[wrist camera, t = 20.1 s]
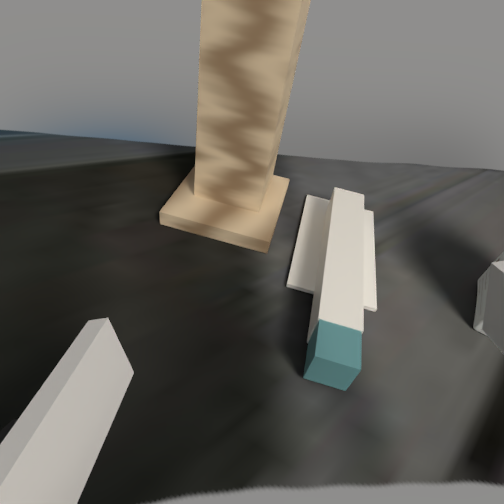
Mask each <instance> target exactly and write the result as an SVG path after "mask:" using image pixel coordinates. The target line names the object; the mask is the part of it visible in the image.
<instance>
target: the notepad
mask: <svg viewBox="0 0 504 504" xmlns="http://www.w3.org/2000/svg"><path fill="white" fill-rule="evenodd" d="M329 202H330V200H326V199H322V198H319V197H315V196H311V195H307V197H306V201H305V206H304V210H303V215H302V219H301V223H300V228H299V232H298V237H297V241H296V245H295V250H294V254H293V259H292V263H291V267H290V272H289V276H288V281H287V285H286V287H289V288H293V289H296V290H300V291H303V292H307V293H310V294H314V290H315V283H316V276H317V269H318V263H319V256H320V249H321V242H322V235H323V229H324V222H325V215H326V210H327V207H328V204H329ZM364 309H367V310H370V311H374V312H375V311H376V310H377V300H376V273H375V246H374V219H373V212H372V211H368V210H364Z"/></svg>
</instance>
